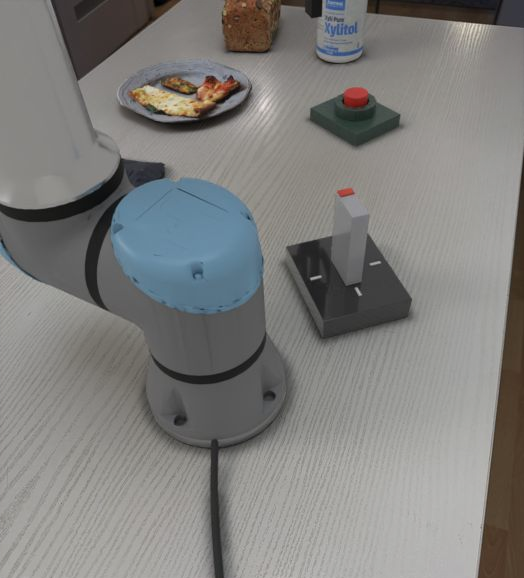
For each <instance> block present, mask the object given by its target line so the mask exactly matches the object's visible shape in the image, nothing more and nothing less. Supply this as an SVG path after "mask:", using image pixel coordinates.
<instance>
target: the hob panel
mask: <svg viewBox="0 0 524 578" xmlns="http://www.w3.org/2000/svg"><path fill="white" fill-rule="evenodd" d="M332 236H333V235H329V236H325V237H321V238H317V239H312V240H308V241H304V242H300V243H296V244H291V245H285V261H286V262H285V263H286V266H287V268H288V270H289V273H290V274H291V276H292V278H293V280H294V282H295V284H296V286H297V289H298V290H299V292H300V293H299V294H300V295H301V297H302V299H303V301H304V303H305V305H306V307H307V310H308V311H309V313H310V316H311V317H312V319H313V322H314V323H315V325H316V328H317V329H318V331H319V333H320V336H321V338H322V339H326V338H330V337H335V336H338V335H342V334H346V333H350V332H353V331H357V330H361V329H366V328H368V327H372V326H376V325H381V324H384V323H388V322H392V321H395V320H401V319H404V318H407V317H409V315H410V312H411V311H410V310H411V306H412V302H413V298H412V296H411V295H410V293H409V292H408V290H407V289H406V287H405V286H404V284H403V283H402V282H401V280H400V279H399V277H398V275H397V274H396V273H395V271H394V270H393V268H392V267H391V265H390V264H389V262H388V260H387V259H386V258H385V256H384V255H383V253H382V252H381V250H380V249H379V247H378V246H377V244H376V243H375V241H374V240H373V238H372V237H371V235H370V234H369V233H368V232H367V240H366V248H365V256H364V264H363V272H362V280H361V282H360V283H356V284H352V285H348V286H346V285H345V283H344V282H343V280H342V278H341V276H340V275H339V273H338V271H337V269H336V268H335V266H334V264H333V263H332V261H331V252H332Z"/></svg>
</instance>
